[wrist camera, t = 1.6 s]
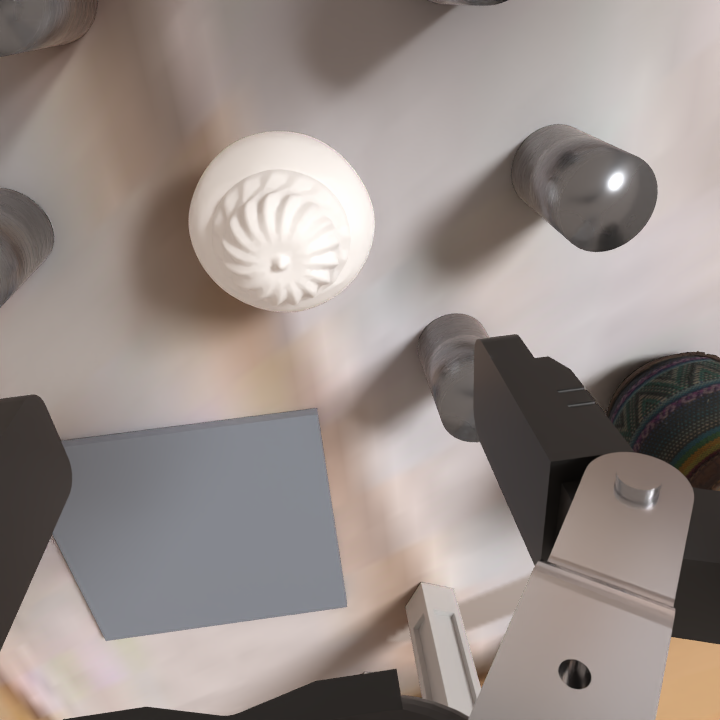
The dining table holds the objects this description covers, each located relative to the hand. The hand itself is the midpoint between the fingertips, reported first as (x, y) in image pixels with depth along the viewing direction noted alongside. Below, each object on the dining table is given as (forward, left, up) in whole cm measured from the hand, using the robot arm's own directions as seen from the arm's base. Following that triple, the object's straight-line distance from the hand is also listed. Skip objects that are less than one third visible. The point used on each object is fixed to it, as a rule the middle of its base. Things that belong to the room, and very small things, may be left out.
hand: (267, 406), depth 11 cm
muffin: (0, 0, -14) cm, 14 cm away
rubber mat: (+7, +17, -14) cm, 23 cm away
